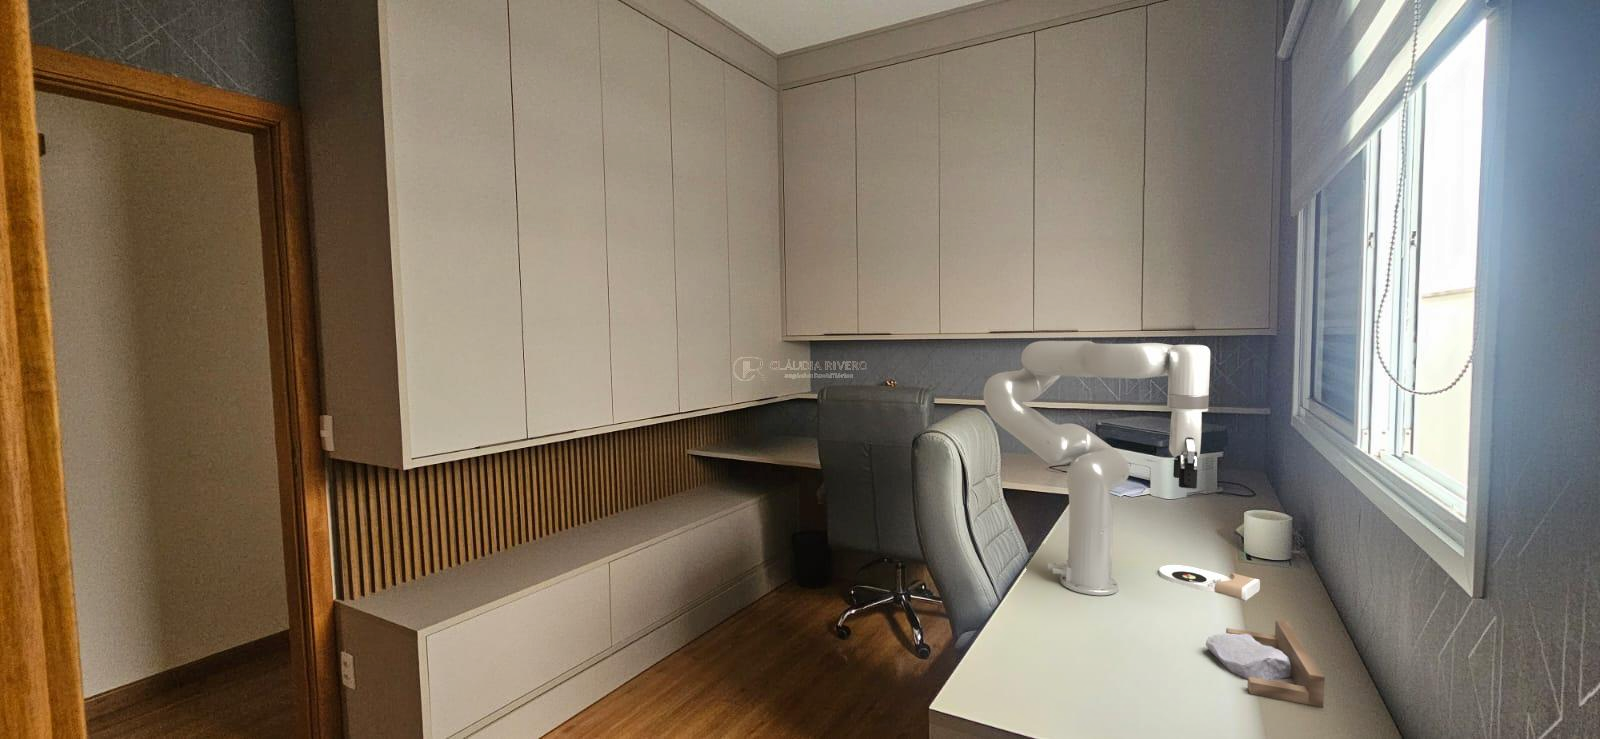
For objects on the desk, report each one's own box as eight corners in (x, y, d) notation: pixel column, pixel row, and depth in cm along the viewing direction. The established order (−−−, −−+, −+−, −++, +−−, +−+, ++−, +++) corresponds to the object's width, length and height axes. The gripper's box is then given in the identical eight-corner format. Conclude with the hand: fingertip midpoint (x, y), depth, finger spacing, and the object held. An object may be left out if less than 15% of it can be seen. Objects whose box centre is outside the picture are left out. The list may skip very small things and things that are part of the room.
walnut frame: (1250, 693, 112) (1251, 664, 112) (1225, 637, 132) (1227, 613, 132) (1323, 707, 108) (1324, 677, 108) (1286, 647, 128) (1288, 622, 128)
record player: (1244, 590, 149) (1151, 566, 165) (1243, 603, 149) (1150, 578, 165) (1261, 577, 157) (1171, 556, 172) (1261, 590, 157) (1171, 567, 172)
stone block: (1248, 693, 116) (1298, 678, 117) (1243, 667, 115) (1294, 651, 117) (1198, 662, 127) (1244, 648, 129) (1193, 637, 127) (1240, 624, 129)
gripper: (1163, 398, 151) (1160, 473, 152) (1171, 406, 135) (1168, 490, 136) (1202, 399, 148) (1198, 476, 149) (1215, 408, 132) (1211, 493, 133)
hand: (1184, 482), depth 142 cm, fingers open, 9 cm apart
